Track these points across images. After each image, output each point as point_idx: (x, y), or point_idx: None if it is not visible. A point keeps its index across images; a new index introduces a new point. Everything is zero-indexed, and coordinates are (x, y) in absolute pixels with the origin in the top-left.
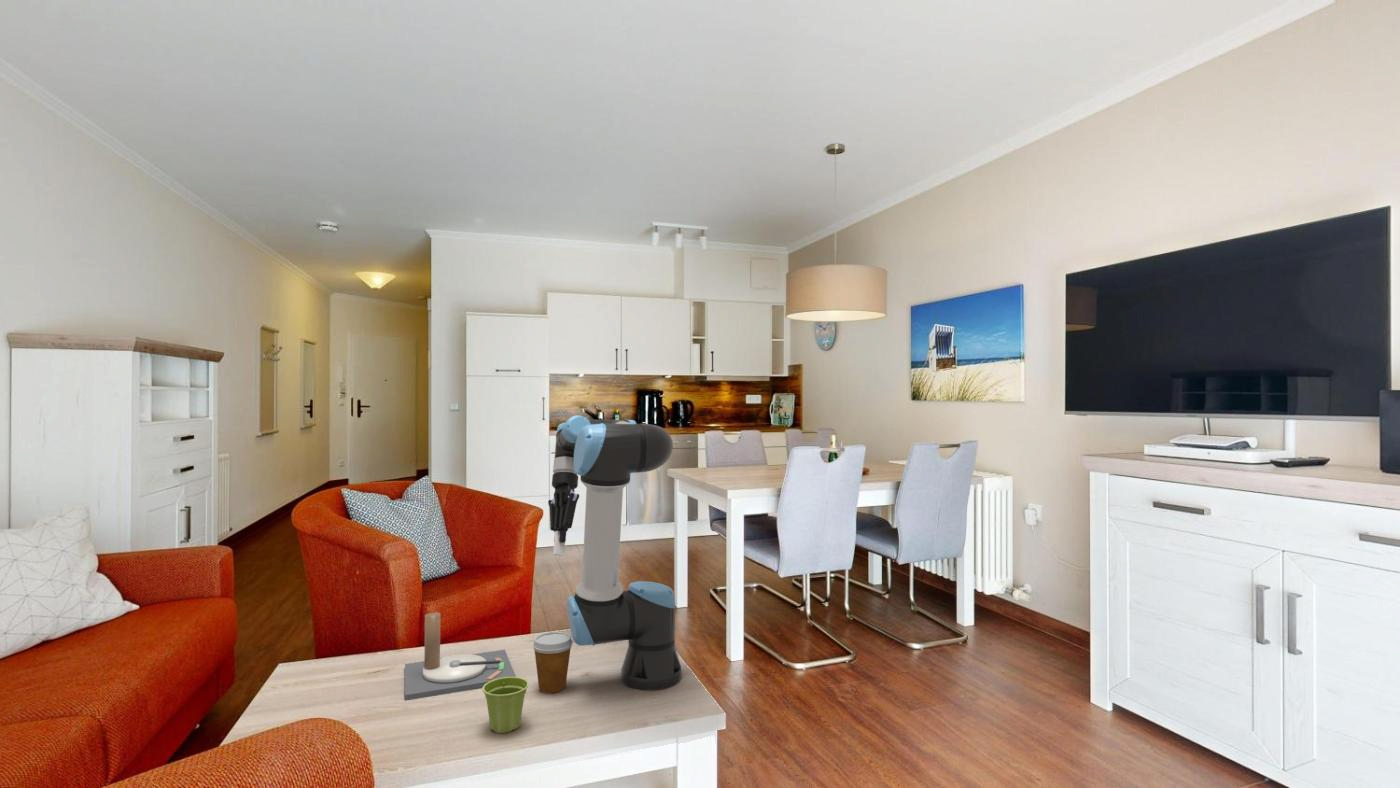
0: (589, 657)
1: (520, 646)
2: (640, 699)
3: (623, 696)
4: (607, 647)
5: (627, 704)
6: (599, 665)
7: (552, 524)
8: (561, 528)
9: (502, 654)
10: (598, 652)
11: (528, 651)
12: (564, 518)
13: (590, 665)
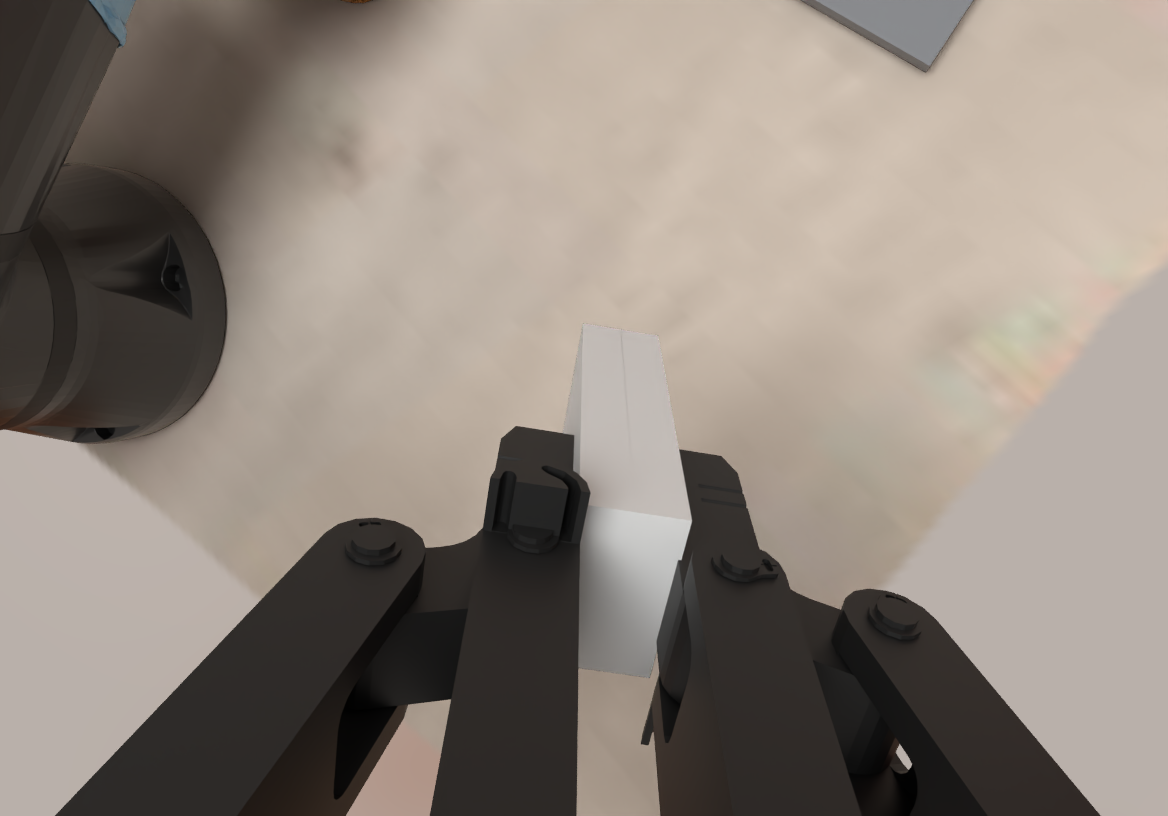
0: (481, 327)
1: (940, 217)
2: None
3: None
4: None
5: None
6: (371, 276)
7: (890, 677)
8: (484, 538)
9: (874, 3)
10: (490, 406)
11: (830, 190)
12: (305, 649)
13: (405, 250)
